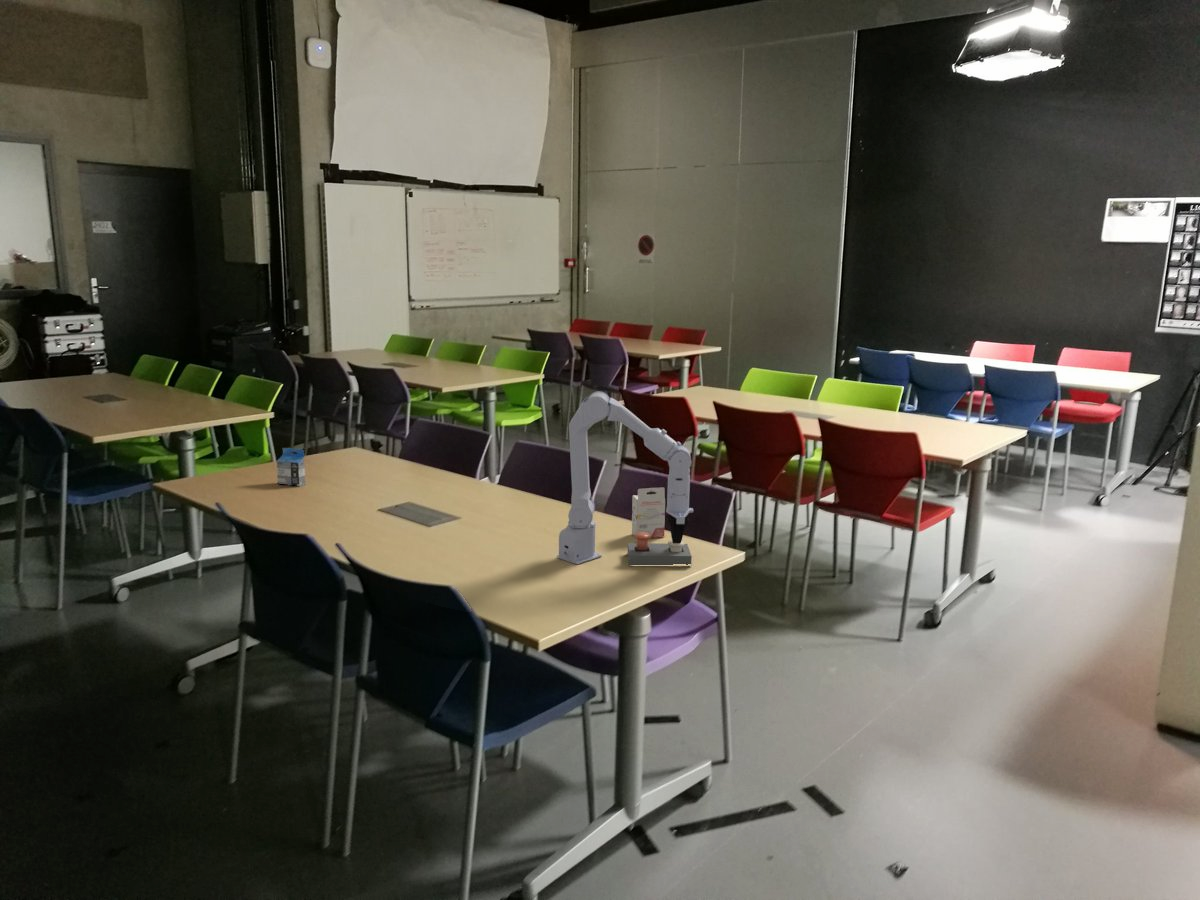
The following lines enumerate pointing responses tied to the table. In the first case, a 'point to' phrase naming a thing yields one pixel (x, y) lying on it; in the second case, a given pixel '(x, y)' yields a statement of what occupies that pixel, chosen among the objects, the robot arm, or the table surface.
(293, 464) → the label tape box
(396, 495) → the table surface
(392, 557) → the table surface
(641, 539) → the plunger red
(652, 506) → the ink cartridge box
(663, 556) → the console
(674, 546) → the plunger ivory
